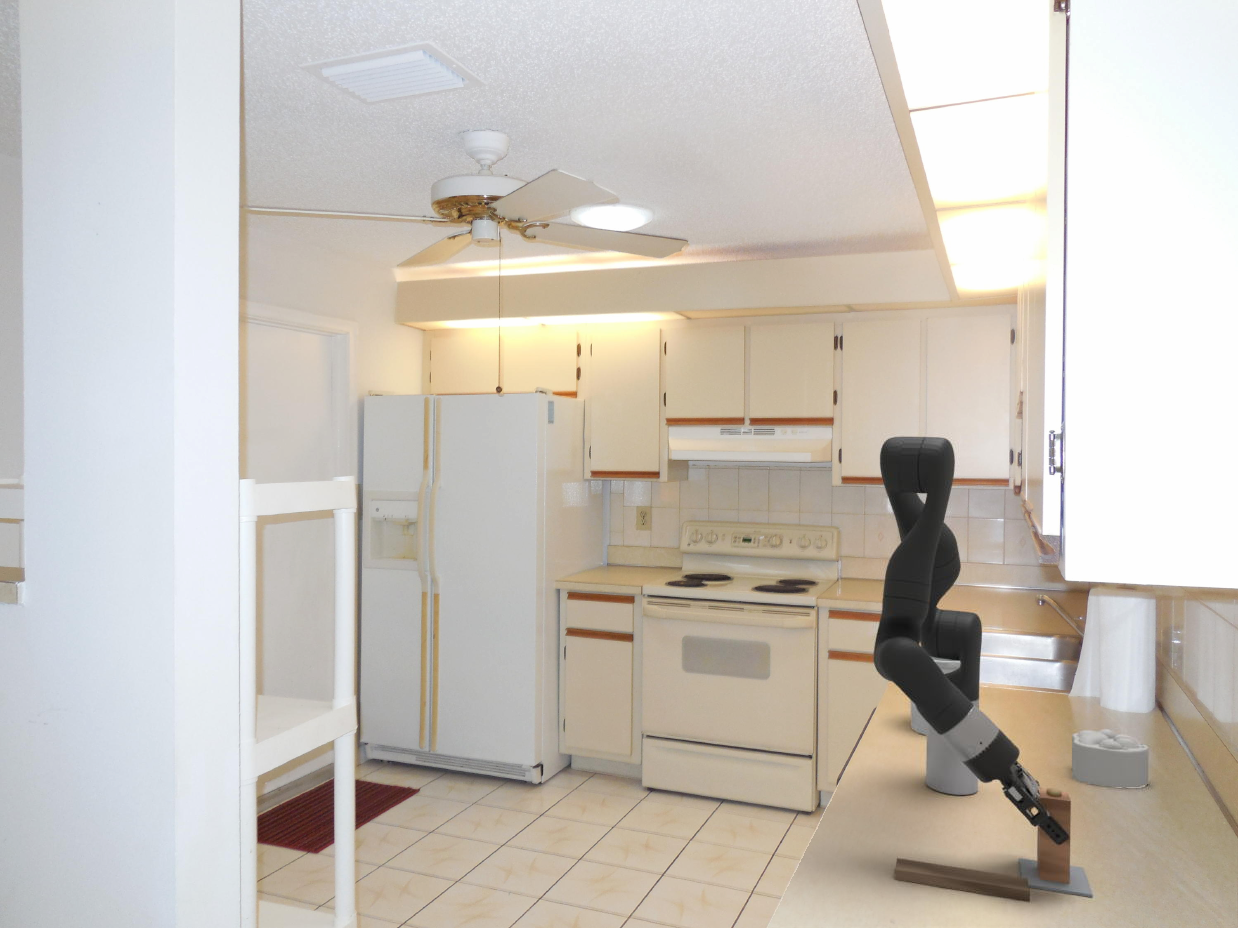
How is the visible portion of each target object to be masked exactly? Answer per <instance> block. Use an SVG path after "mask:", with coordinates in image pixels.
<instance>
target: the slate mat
mask: <svg viewBox="0 0 1238 928" xmlns="http://www.w3.org/2000/svg"><path fill="white" fill-rule="evenodd" d="M1017 861H1018V866H1019V872H1020V877H1023V878H1027V879H1028V884H1029V889H1030V888H1031V889H1037V890H1044V891H1048V892H1056V893H1061V894H1062V893H1063V894H1068V895H1076V896H1081V897H1086V898H1087V897H1089V898H1094V897H1093V896H1094V895H1093V892H1092V891H1093V890H1092V889H1091V885H1090V882H1089V880H1088V879H1089V878H1088V876H1087V874H1086V870H1085V868H1084V867H1082V866H1077V865H1070V884H1069V883H1063V882H1056V881H1050V880H1044V879H1039V874H1038V869H1037V859H1036V860H1035V859H1030V858H1023V857H1018V859H1017Z"/></svg>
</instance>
